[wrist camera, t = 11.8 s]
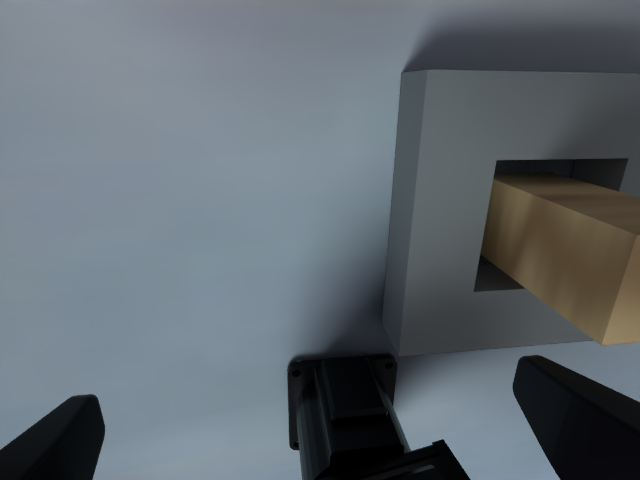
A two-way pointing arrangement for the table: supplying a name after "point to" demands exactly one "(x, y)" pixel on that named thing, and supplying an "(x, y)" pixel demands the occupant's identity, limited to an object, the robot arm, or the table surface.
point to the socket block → (474, 194)
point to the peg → (570, 249)
